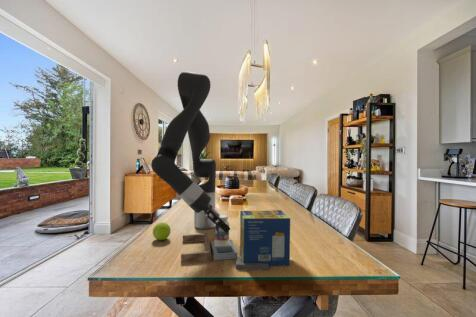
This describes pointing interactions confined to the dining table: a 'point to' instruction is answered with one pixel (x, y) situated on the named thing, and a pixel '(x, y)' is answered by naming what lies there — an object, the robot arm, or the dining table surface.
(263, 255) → the protein box
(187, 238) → the frame
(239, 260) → the grey flat block
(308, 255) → the dining table surface
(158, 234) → the tennis ball
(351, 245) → the dining table surface
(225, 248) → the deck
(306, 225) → the dining table surface
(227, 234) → the pill bottle
